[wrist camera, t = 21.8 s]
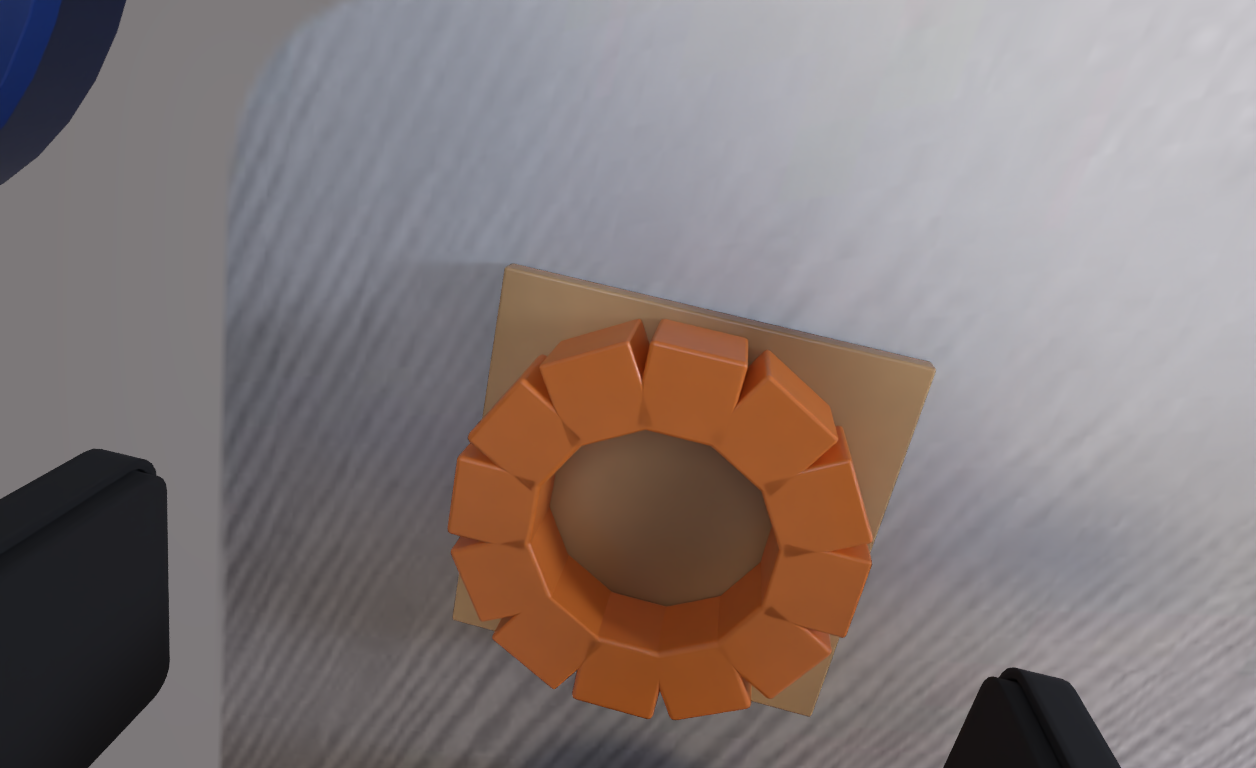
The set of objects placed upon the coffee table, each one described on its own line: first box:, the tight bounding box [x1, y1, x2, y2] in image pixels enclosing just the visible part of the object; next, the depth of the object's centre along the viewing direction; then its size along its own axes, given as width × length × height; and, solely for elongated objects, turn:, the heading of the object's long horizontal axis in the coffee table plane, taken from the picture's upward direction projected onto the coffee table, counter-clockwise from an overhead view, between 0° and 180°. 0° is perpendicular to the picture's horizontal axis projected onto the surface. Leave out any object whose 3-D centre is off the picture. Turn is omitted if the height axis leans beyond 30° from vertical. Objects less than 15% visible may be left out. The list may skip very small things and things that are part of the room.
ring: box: [448, 319, 873, 720], centre depth 13 cm, size 7×7×1 cm
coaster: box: [453, 264, 936, 717], centre depth 14 cm, size 7×7×1 cm
